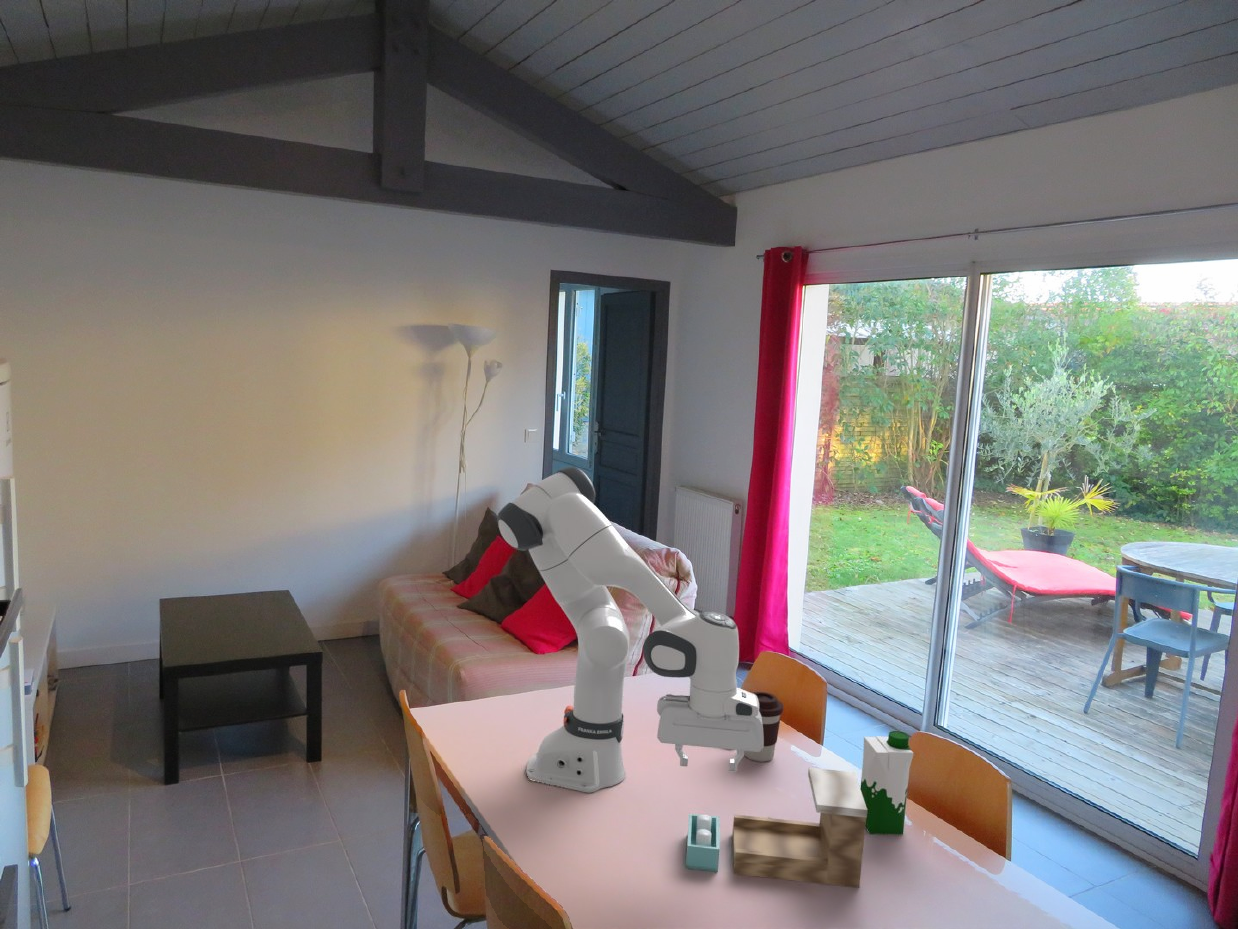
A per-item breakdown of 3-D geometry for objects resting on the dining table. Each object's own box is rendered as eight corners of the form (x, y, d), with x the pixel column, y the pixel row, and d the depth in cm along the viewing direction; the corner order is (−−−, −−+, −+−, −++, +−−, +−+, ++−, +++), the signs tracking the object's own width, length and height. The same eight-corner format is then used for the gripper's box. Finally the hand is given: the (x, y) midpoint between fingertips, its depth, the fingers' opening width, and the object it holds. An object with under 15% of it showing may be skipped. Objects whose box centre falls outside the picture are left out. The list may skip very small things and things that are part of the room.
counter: (734, 875, 167) (740, 796, 165) (732, 833, 182) (738, 760, 180) (859, 889, 165) (867, 810, 163) (847, 845, 179) (854, 772, 178)
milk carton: (909, 837, 184) (918, 744, 182) (866, 836, 183) (875, 743, 181) (892, 815, 193) (901, 726, 190) (851, 814, 192) (860, 725, 190)
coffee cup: (778, 767, 212) (783, 707, 210) (736, 761, 214) (741, 701, 212) (779, 750, 222) (784, 692, 220) (739, 744, 224) (743, 686, 222)
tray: (717, 872, 168) (719, 844, 167) (685, 868, 168) (687, 840, 168) (717, 838, 180) (719, 811, 179) (687, 834, 180) (689, 808, 179)
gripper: (656, 699, 168) (653, 769, 170) (766, 709, 166) (762, 780, 168) (659, 687, 174) (655, 755, 176) (765, 696, 172) (760, 765, 174)
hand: (708, 767), depth 172 cm, fingers open, 8 cm apart
